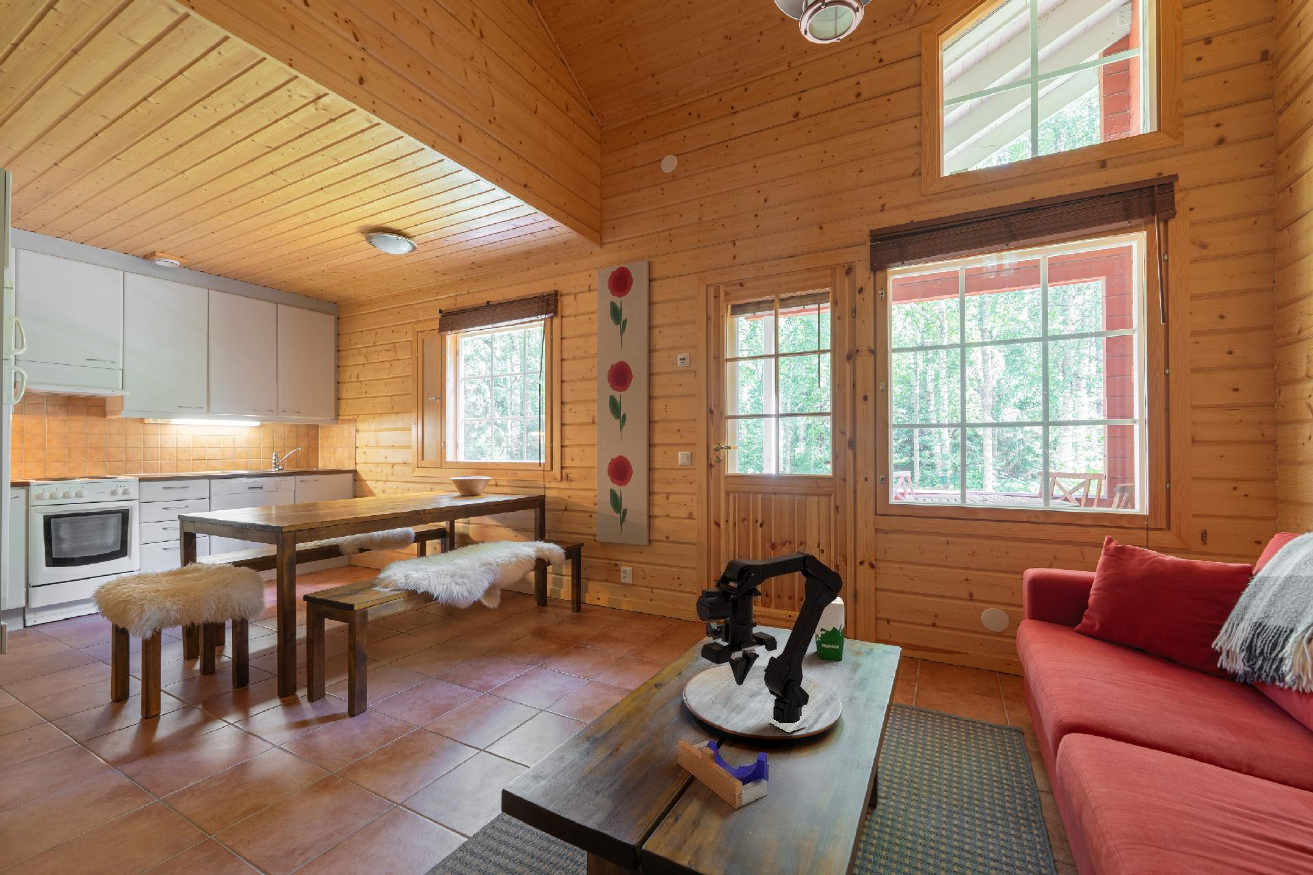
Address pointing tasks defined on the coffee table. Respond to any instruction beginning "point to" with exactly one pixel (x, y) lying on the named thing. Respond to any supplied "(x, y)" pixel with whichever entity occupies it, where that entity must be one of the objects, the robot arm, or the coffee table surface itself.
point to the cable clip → (744, 767)
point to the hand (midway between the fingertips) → (739, 684)
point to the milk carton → (831, 631)
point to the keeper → (718, 775)
